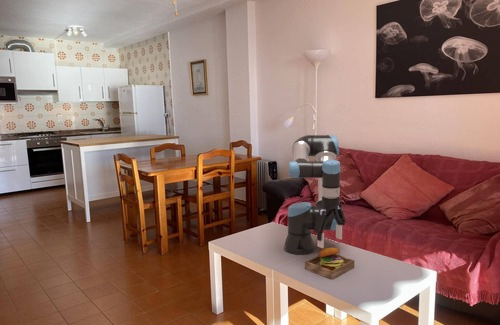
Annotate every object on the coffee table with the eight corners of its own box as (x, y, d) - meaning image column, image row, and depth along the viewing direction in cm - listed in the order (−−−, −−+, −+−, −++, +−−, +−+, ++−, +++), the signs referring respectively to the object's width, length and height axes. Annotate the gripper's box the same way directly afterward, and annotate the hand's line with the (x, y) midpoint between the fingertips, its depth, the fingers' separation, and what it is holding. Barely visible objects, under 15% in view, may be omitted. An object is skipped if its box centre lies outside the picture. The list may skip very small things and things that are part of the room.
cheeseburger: (329, 274, 161) (326, 250, 162) (315, 270, 171) (312, 248, 172) (348, 269, 166) (345, 246, 166) (333, 265, 175) (330, 244, 176)
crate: (304, 268, 169) (304, 261, 169) (327, 258, 180) (327, 251, 180) (332, 279, 159) (332, 271, 158) (354, 267, 170) (354, 260, 169)
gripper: (320, 204, 153) (319, 253, 157) (354, 192, 170) (352, 237, 174) (305, 200, 159) (305, 248, 162) (339, 189, 175) (338, 233, 179)
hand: (329, 242), depth 168 cm, fingers open, 13 cm apart
